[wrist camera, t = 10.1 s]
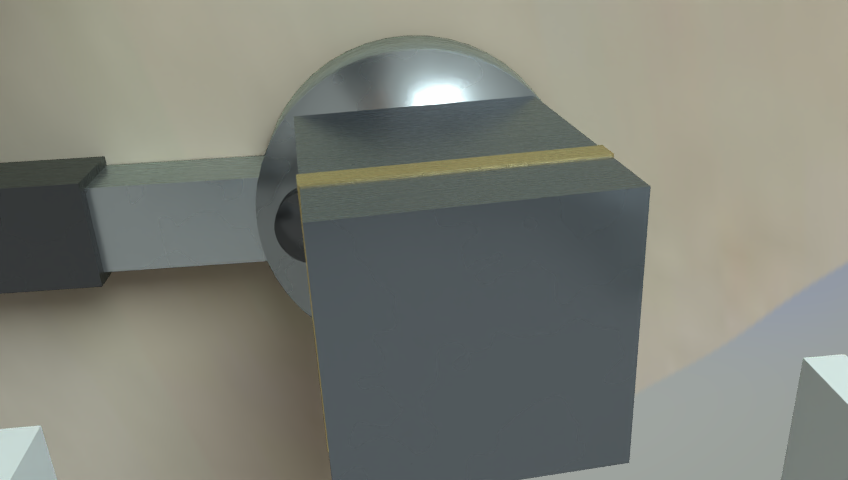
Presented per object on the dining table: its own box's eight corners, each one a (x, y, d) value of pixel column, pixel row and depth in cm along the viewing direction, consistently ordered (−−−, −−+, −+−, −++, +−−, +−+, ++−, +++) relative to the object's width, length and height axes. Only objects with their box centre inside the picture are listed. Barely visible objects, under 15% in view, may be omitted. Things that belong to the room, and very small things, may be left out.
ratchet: (-173, 358, 28) (-348, 509, 21) (-289, 74, 24) (-553, 149, 17) (557, 305, 29) (616, 433, 22) (565, 26, 25) (640, 78, 18)
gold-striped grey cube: (316, 333, 25) (333, 510, 18) (291, 114, 22) (299, 220, 15) (532, 306, 26) (631, 464, 19) (535, 93, 23) (653, 183, 16)
